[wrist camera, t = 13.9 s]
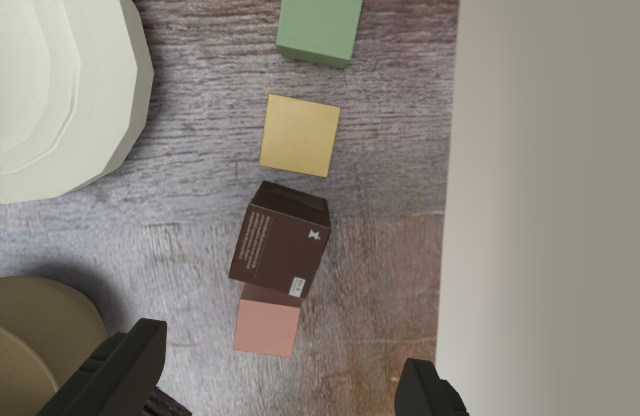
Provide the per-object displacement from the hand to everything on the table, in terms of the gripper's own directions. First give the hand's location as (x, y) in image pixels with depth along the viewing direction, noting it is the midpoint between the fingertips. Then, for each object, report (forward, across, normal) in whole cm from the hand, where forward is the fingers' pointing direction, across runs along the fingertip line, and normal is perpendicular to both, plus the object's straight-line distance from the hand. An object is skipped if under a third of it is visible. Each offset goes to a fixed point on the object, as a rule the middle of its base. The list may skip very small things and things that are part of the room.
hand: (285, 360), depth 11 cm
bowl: (+19, +21, +15) cm, 32 cm away
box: (+20, +1, +2) cm, 20 cm away
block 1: (+20, +1, -14) cm, 24 cm away
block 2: (+20, +1, -6) cm, 20 cm away
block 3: (+19, +1, +10) cm, 22 cm away
